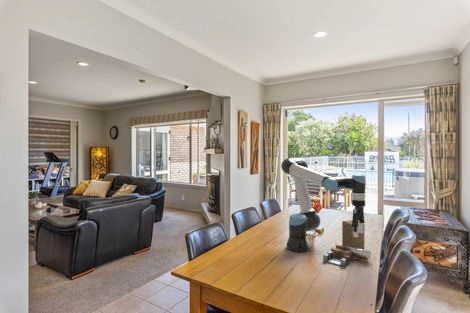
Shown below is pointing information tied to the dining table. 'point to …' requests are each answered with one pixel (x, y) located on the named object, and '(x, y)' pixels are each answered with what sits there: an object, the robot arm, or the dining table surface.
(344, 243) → the wooden block
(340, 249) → the wooden clevis bracket
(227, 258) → the dining table surface
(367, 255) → the axle
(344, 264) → the v block
